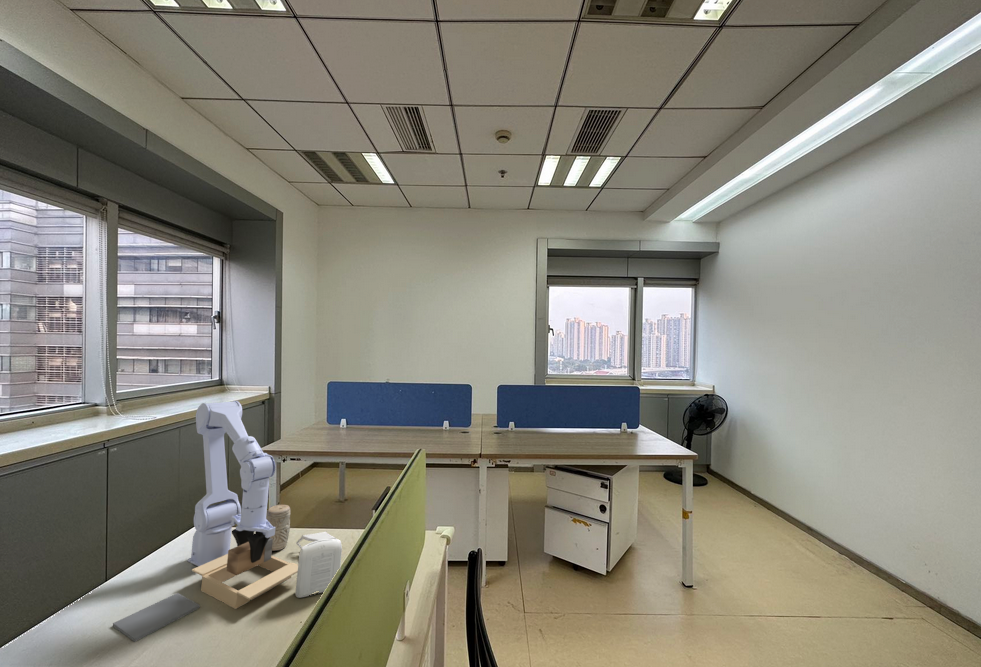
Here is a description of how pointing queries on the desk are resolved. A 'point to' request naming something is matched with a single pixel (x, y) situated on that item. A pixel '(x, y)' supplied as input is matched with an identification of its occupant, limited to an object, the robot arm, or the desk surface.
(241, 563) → the walnut box
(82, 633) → the desk surface
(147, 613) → the mat
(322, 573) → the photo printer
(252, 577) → the desk surface
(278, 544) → the carving
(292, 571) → the carton
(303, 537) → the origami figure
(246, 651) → the desk surface
